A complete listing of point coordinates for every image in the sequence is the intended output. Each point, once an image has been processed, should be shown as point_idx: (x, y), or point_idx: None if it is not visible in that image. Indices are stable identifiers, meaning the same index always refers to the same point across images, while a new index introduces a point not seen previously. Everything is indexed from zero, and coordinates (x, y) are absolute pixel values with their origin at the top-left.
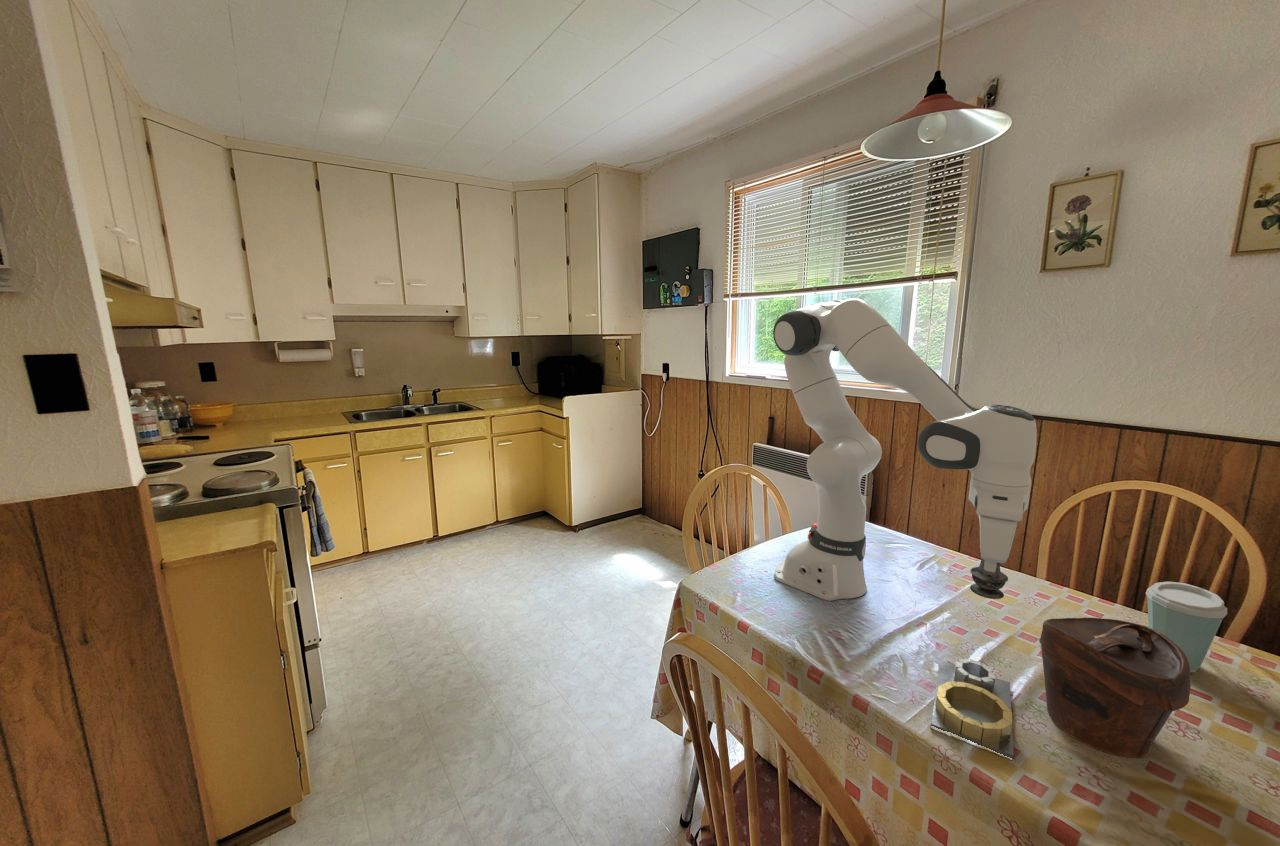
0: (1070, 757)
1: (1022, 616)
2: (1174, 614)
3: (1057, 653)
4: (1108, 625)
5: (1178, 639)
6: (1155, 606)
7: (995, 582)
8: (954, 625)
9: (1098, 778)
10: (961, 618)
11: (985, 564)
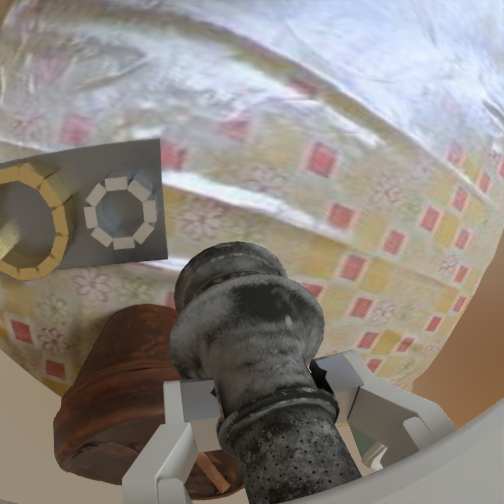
0: (63, 323)
1: (409, 257)
2: (370, 440)
3: (66, 405)
4: None
5: None
6: None
7: (177, 372)
8: (336, 153)
9: (54, 343)
10: (368, 166)
11: (165, 409)
